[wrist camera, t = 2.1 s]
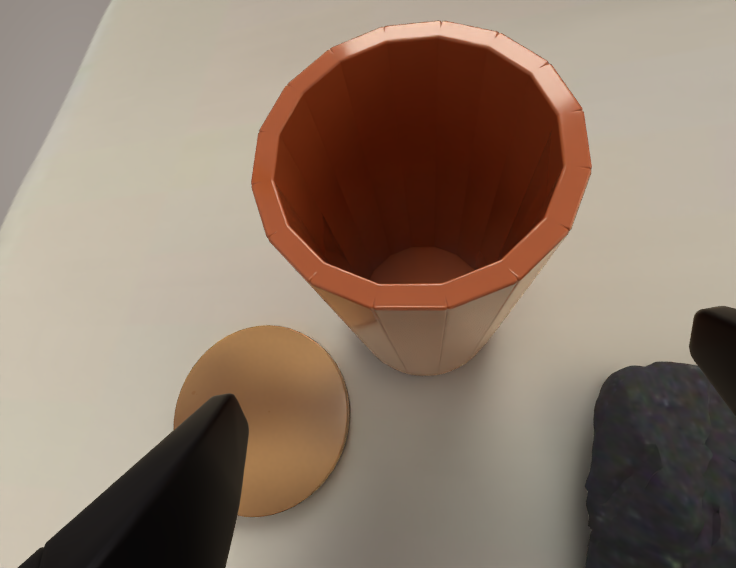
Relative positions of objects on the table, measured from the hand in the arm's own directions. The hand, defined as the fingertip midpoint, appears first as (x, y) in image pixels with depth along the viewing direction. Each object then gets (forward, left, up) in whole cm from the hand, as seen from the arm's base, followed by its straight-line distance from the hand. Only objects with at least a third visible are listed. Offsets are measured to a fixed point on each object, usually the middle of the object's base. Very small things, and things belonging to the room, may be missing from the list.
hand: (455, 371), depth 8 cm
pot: (+4, -1, -11) cm, 12 cm away
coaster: (+2, +8, -11) cm, 14 cm away
